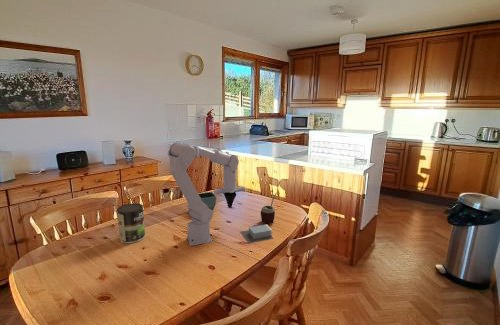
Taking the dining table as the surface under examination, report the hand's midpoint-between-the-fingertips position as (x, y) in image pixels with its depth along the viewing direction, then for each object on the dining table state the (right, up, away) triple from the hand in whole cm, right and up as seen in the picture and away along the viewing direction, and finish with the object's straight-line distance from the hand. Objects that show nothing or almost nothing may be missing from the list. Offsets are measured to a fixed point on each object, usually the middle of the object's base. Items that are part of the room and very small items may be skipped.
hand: (229, 207), depth 122 cm
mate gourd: (+19, -9, +9) cm, 23 cm away
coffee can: (-42, -12, -9) cm, 45 cm away
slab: (+10, -11, -7) cm, 16 cm away
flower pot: (-14, -6, +22) cm, 27 cm away
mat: (+13, -12, -5) cm, 18 cm away
